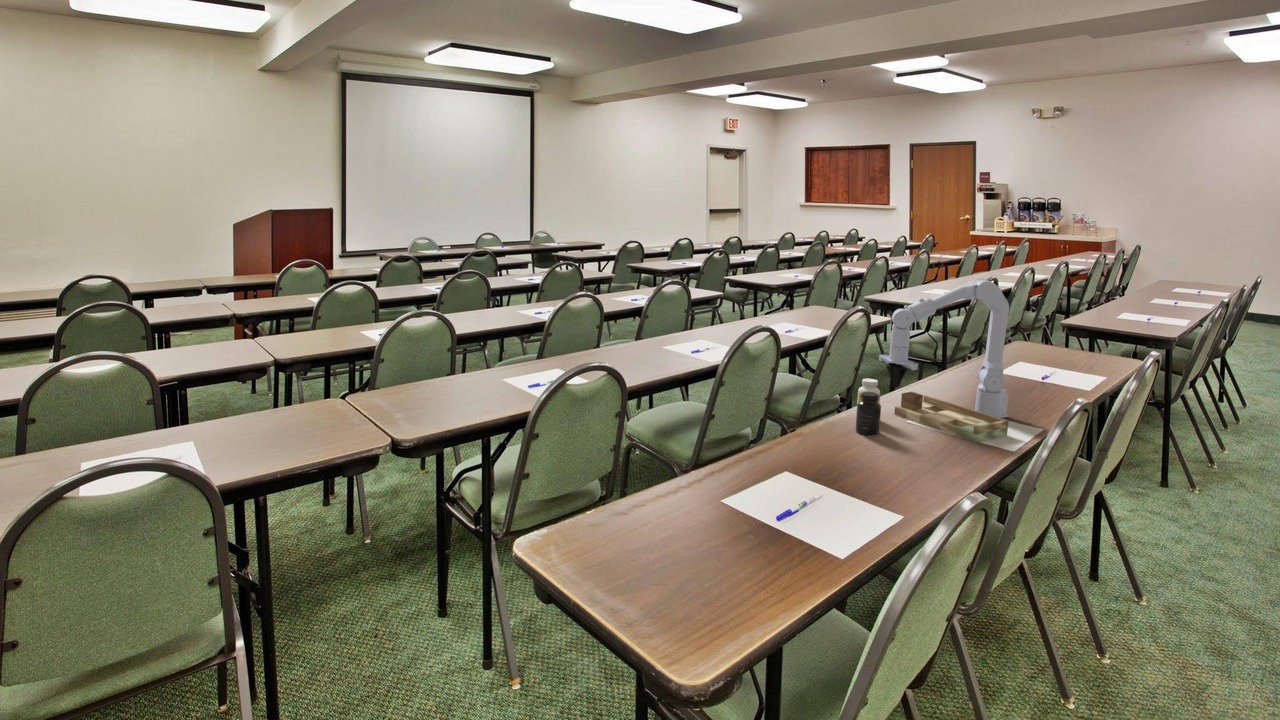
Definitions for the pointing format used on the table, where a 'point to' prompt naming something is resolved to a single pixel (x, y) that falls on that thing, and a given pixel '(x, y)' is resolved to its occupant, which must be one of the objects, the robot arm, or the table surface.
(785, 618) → the table surface
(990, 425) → the trap board
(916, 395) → the walnut block
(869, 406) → the supplement bottle
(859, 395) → the supplement bottle
